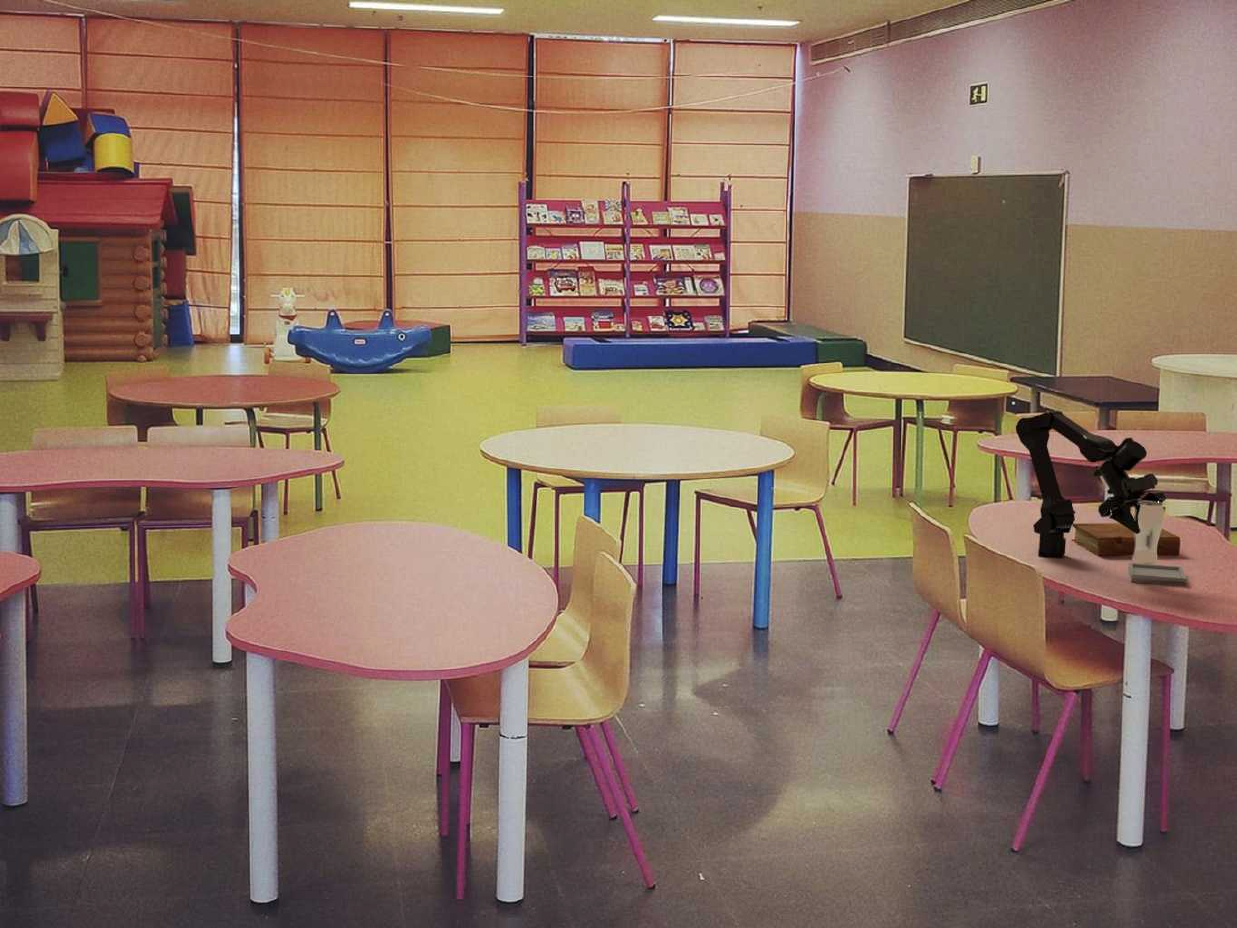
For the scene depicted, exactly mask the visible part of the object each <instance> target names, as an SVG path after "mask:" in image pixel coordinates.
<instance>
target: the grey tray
mask: <svg viewBox="0 0 1237 928" xmlns="http://www.w3.org/2000/svg"><path fill="white" fill-rule="evenodd" d="M1127 565H1128V569H1127V570H1128V575H1129V579H1130V578H1131V579H1130V582H1131V583H1135V582H1137V583H1138V584H1150V585H1163V586H1175V585H1180V586H1179V587H1187V576H1186V574H1185V571H1184V569H1183V566H1181V565H1180V566H1178V565H1164V564H1154V563H1153V564H1146V563H1139V562H1136V563H1135V562H1128V564H1127Z"/></svg>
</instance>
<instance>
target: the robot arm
mask: <svg viewBox="0 0 1237 928" xmlns="http://www.w3.org/2000/svg"><path fill="white" fill-rule="evenodd" d="M1052 430H1054V431H1055V432H1057V433H1058V434H1059V435H1061V436H1063V437H1064V438H1065V439H1067V440H1068V441H1069V442H1070V443H1072V444H1073V445H1075V446H1076V447H1077V448H1078V449H1079V452H1080V454H1081V455H1082V456H1083V457H1084V458H1085V459H1086V460H1087V461H1088V462H1090V463H1099V462H1101V463H1102V464H1101V465H1095V469H1094V472H1093V477H1102V478H1103V480H1104V482H1105V484H1106V485H1107V487H1108V490H1107V491H1106V492H1107V494H1108V495H1112V496H1108V497H1107V498H1106V499H1105V500H1104V501H1102V502H1101V504H1100V505H1099V506H1098V508H1097V509H1098V510H1097V511H1098V514H1099V515H1100V517H1101V518H1106V517H1107V518H1109V519H1110V520H1114V521H1115V522H1117V523H1120V524H1122V525H1124V526H1125V527H1127V528H1128V529H1130V530H1131V531H1133V532H1134V533H1136V534H1138V533H1140V530H1139V528H1138V526H1137V524H1136V522H1135V520H1134V515H1132V512H1131V511H1132V510H1131V509H1132V508H1135V505H1136V501H1142V500H1146V501H1156V502H1160V503H1164V502H1165V501H1166V500H1167V497H1166V496H1165V494H1164V492H1163V491H1159V490H1158V491H1149V492H1148V493H1147V494H1146V491H1148V490H1151V489H1152V490H1153V489H1156V486H1157V485H1158V483H1159V482H1158V478H1157V477H1156V476H1155V474H1154V473H1148V474H1145V475H1143V476H1141V477H1137V478H1136V477H1130V476H1129V473H1128V472H1130V471H1132V470H1134V468H1136V467H1137V466H1138V464H1140V463H1141V462H1142V461H1143V460H1144V459H1145V458H1146V457H1147V450H1146V447H1144V446H1143V445H1142V444H1140V442H1137V441H1135V440H1134V439H1133V438H1132V437H1126V438H1124V439H1123V441H1122V442H1121V443H1120V444H1119V445H1116V443H1115V442H1114V441H1113V440H1111V439H1109V438H1107V437H1105V436H1101V435H1098V434H1094V433H1091V432H1090V431H1088V430H1087V429H1085V428H1084V427H1082V426H1081V425H1079V424H1078V423H1077V422H1075V421H1074V420H1072V419H1070V418H1069V417H1068V416H1066V415H1065V414H1064V412H1063V411H1060V410H1050V411H1049V410H1048V411H1045V412H1043V413H1041V414H1038V415H1035V416H1029V417H1028V416H1027V417H1022V418H1019V420H1018V421H1017V423H1016V425H1015V431H1016V435H1017V436H1018V437H1017V438H1019V441H1020V443H1021V444H1022V445H1023V446H1024V447H1025V448H1026V449H1027V450H1028V452H1029V455H1030V458H1031V462H1032V465H1033V466H1032V467H1033V469H1034V473H1035V476H1036V477H1035V478H1036V480H1037V483H1038V486H1039V490H1040V493H1041V494H1040V495H1041V498H1042V503H1041V506H1040V510H1039V511H1040V518H1039V519H1038V520H1037V521H1035V523H1034V524H1033V525H1032V526H1033V531H1034V534H1038V535H1039V539H1038V540H1039V542H1038V550H1037V555H1038V557H1049V558H1061V559H1062V558H1064V555H1065V554H1066V543H1067V541H1066V540H1067V539H1066V537H1065V534H1069V533H1070V531H1071V529H1072V528H1073V524H1074V522H1075V521H1076V519H1075V518H1076V517H1075V514H1076V511H1075V510H1074V506H1073V502H1072V500H1071V499H1070V498H1069V499H1068V498H1067V499H1065V497H1063V495H1062V493H1061V490H1060V486H1059V483H1058V479H1057V476H1056V472H1055V470H1054V465H1053V462H1052V459H1051V455H1050V452H1049V449H1048V448H1049V447H1048V443H1049V441H1050V431H1052ZM1127 471H1128V472H1127ZM1145 494H1146V495H1145ZM1144 495H1145V496H1144ZM1142 496H1144V497H1142ZM1141 497H1142V498H1141Z"/></svg>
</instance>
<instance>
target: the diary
mask: <svg viewBox="0 0 1237 928" xmlns="http://www.w3.org/2000/svg"><path fill="white" fill-rule="evenodd" d="M1072 528H1075V532H1074V533H1075V534H1074V539H1071V542H1072V541H1074V542H1075V543H1074V542H1073V543H1074V544H1076V543H1077V544H1076V545H1077V546H1079V545H1080V547H1081V546H1082V547H1081V548H1083V547H1084V548H1086V549H1087V550H1086V549H1085V550H1086V551H1088V550H1089V551H1088V552H1090V553H1091V552H1092V553H1091V554H1093V555H1094V556H1097V557H1126V556H1125V555H1133V553H1134V549H1135V538H1134V532H1133V531H1131V530H1130V529H1128V528H1127V527H1125V526H1124V525H1122V524H1120V523H1119V522H1117V523H1116V522H1115V523H1112V522H1111V523H1110V522H1109V523H1107V522H1106V523H1097V522H1096V523H1073V525H1072ZM1084 548H1083V549H1084ZM1180 550H1181V539H1180V536H1179V535H1176V534H1173V533H1172V532H1170V531H1168V530H1166V529H1164V528H1162V529H1161V533H1160V537H1159V540H1158V544H1157V555H1165V556H1179V555H1180Z"/></svg>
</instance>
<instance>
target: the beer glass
mask: <svg viewBox="0 0 1237 928" xmlns="http://www.w3.org/2000/svg"><path fill="white" fill-rule="evenodd" d="M1133 518H1134V520H1135V522H1136V524H1137V526H1138V528H1139V530H1140V533H1138V534H1136V533H1134V538H1135V549H1134V553H1133V556H1131V557H1132V558H1131V560H1132V561H1133V562H1134V563H1135V562H1136V563H1139V564H1153V565H1154V564H1157V563H1158V561H1159V560H1158V556H1157V544H1158V540H1159V537H1160V533H1161V529H1163V522H1164V502H1162V503H1160V502H1156V501H1146V500H1142V501H1136V505H1135V507H1134V510H1133Z"/></svg>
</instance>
